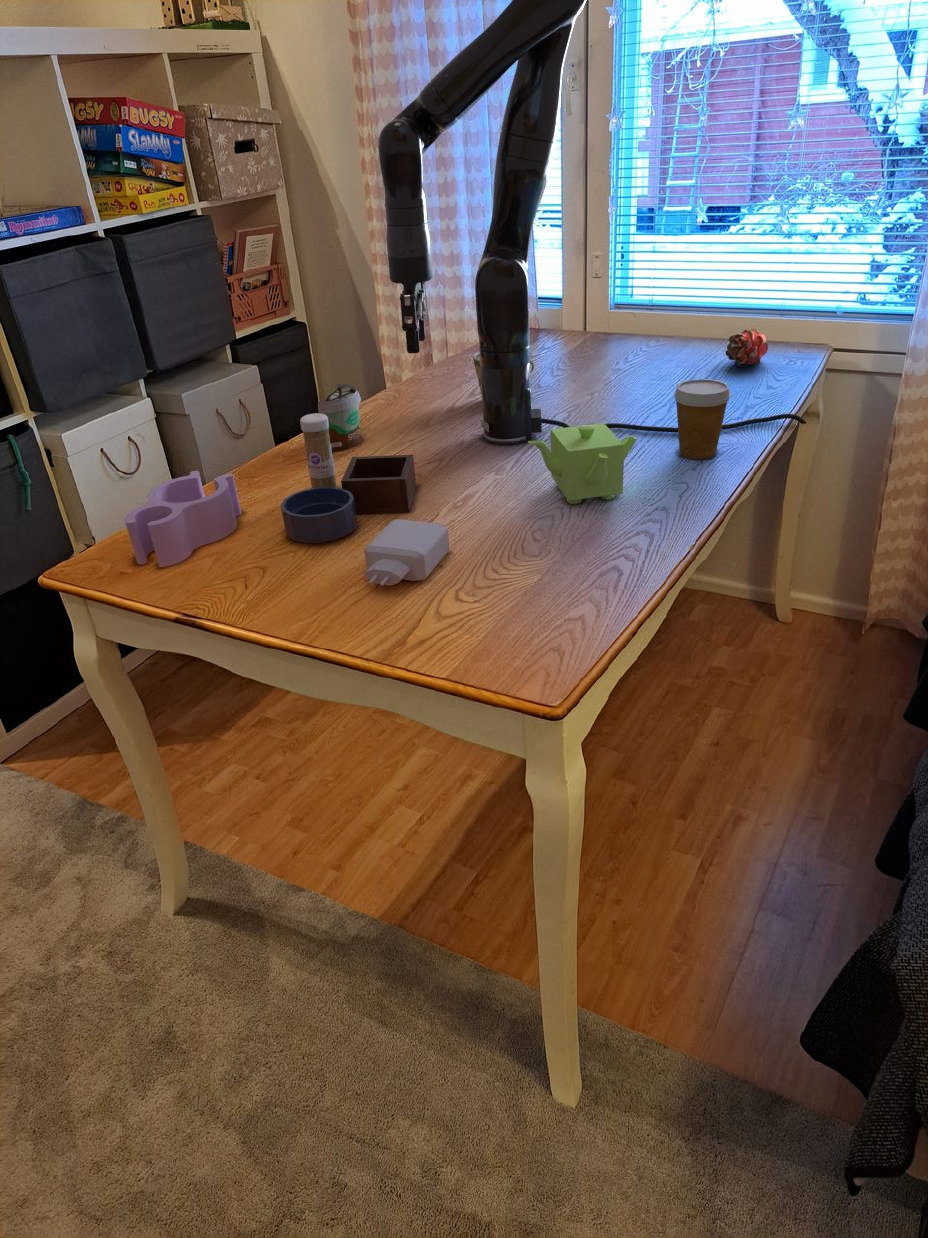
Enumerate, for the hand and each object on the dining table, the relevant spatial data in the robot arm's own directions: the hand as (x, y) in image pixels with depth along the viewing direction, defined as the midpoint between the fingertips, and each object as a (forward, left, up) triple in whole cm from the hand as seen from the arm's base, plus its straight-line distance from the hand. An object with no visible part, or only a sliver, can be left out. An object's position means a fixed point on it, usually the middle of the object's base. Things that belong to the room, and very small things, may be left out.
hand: (416, 346), depth 160 cm
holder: (+5, +27, -18) cm, 33 cm away
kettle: (-29, +27, -19) cm, 43 cm away
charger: (-2, +53, -19) cm, 56 cm away
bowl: (+13, +38, -18) cm, 44 cm away
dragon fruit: (-69, -42, -19) cm, 83 cm away
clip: (+34, +39, -19) cm, 55 cm away
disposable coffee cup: (-50, +11, -19) cm, 54 cm away
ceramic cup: (-15, -22, -19) cm, 33 cm away
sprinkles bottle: (+15, +23, -19) cm, 33 cm away
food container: (+15, -1, -19) cm, 24 cm away
